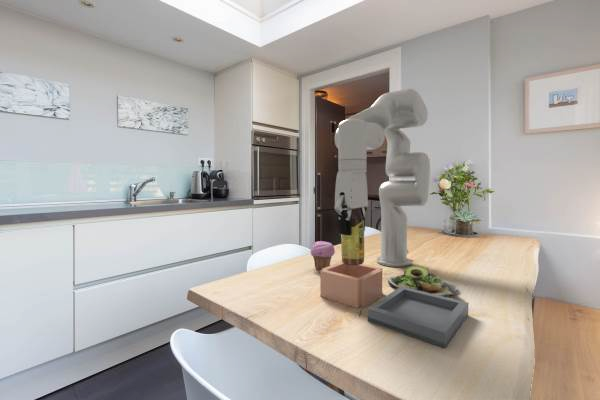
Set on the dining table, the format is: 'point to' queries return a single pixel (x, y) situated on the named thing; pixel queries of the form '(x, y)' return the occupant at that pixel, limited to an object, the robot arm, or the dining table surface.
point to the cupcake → (322, 254)
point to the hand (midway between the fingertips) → (352, 232)
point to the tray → (420, 315)
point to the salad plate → (423, 282)
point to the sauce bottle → (354, 240)
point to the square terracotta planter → (351, 283)
